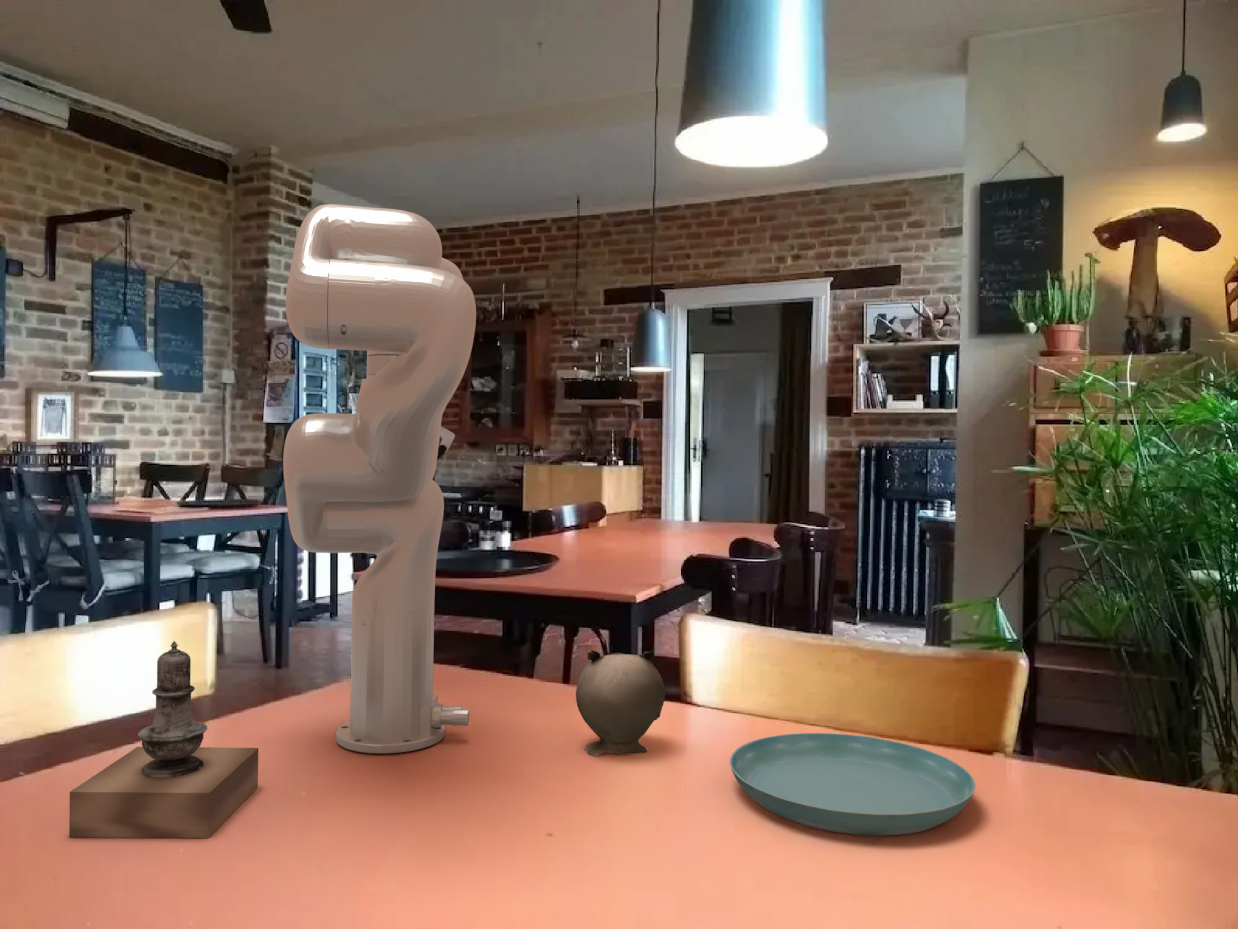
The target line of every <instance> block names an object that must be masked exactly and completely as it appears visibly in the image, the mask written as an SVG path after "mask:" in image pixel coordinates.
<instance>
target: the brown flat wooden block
mask: <svg viewBox="0 0 1238 929" xmlns="http://www.w3.org/2000/svg"><path fill="white" fill-rule="evenodd" d="M192 756H195V757H197V758H199V759H201V760H202V761H203V766H202V768H200V769H199V770H197V771H195V772H193V773H189V774H186V775H182V776H177V777H169V778H153V777H147V776H145V775H143V774H142V773H141V770H142V768H143V767H144V766H145V765H147V764H148V763H149V762H151V761H153V760H155V759H153V758H151V757H150V756H149V755H148V754H146V752H145V751H144V748H143V746H136V747H135V748H133V749H132V750H130V751H129V752H127V753H126V754H124V755H123V756H122V757H120V758H119V759H117V760H115V761H114V762H112V763H111V764H110V765H108V766H106V767H105V768H103V769H102V770H101V771H99V772H98V773H95V775H93V776H91V777H90V778H88V779H87V780H86V781H84V782H82V783H81V784H80V785H78V786H76V787H75V788H73V789H72V790H70V791H69V809H68V810H69V811H68V812H69V814H68V815H69V821H68V822H69V823H68V824H69V825H68V826H69V827H68V829H69V830H68V833H69V834H68V837H69V838H104V839H105V838H113V839H114V838H115V839H116V838H117V839H118V838H119V839H121V838H122V839H123V838H125V839H126V838H127V839H133V838H136V839H138V838H141V839H146V838H147V839H153V838H154V839H209V838H210V837H211V836H213V834H214V833H215V832H216V831H217V830H218V829H219V828H220V827H221V826H222V825H223V824H224V823H225V822H226V821H227V820H228V819H229V818H230V817H231V815H232V814H234V812H236V811H237V810H238V808H239V807H241V805H242V804H243V803H244V802H245V801H246V800H247V799H248V798H249V797H250V796H251V795H252V794H253V793H254V792H255V790H256V789H258V787H259V747H216V746H215V747H210V746H209V747H207V746H206V747H205V746H203V747H201V746H200V747H199V748H198V749H197V750H196V751H195V752H194V753H193V754H192Z"/></svg>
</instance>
